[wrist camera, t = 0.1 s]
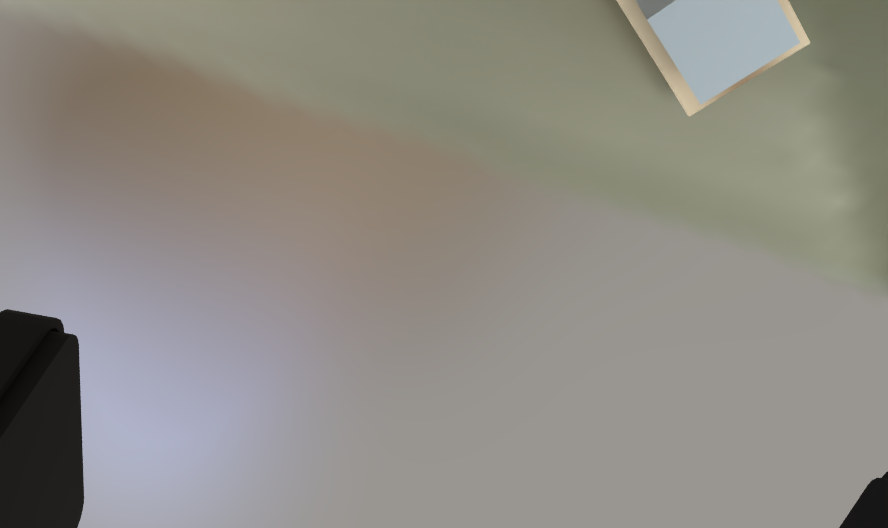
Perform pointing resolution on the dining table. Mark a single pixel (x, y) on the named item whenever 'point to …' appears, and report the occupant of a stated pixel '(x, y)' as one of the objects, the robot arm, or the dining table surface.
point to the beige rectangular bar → (671, 71)
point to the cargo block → (719, 38)
